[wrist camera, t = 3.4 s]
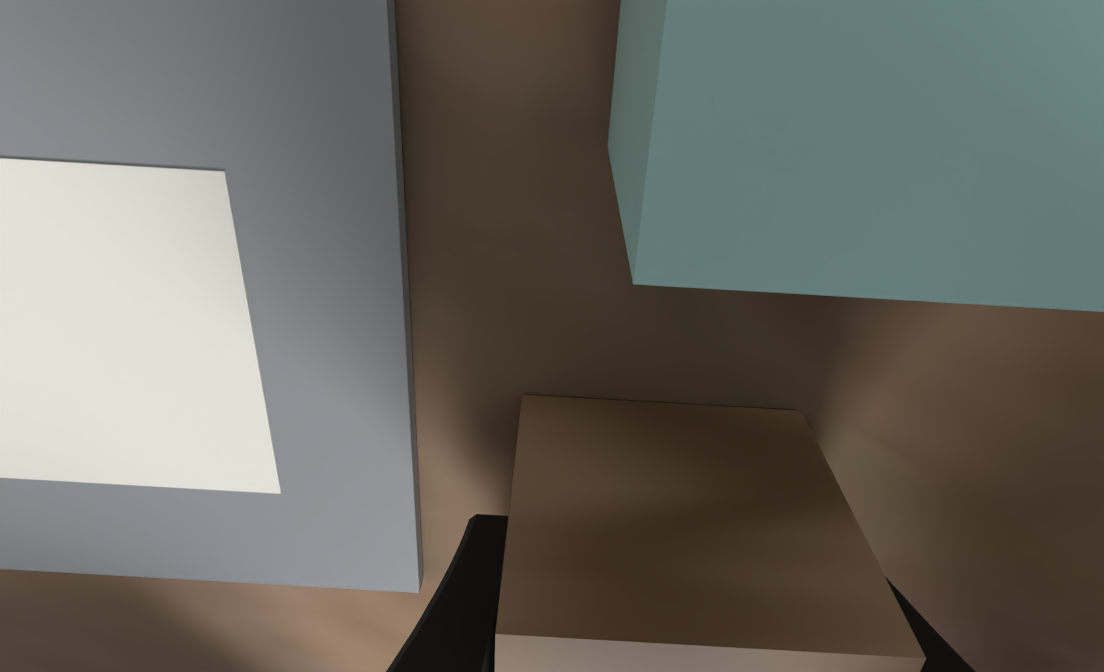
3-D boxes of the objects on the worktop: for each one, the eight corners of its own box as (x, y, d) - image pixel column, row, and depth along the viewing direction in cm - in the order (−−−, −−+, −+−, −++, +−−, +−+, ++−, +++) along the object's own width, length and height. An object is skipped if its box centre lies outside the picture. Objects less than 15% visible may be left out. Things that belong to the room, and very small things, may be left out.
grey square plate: (393, -11, 8) (385, -10, 8) (423, 575, 13) (419, 594, 13) (-437, -62, 8) (-484, -62, 8) (-103, 545, 13) (-123, 562, 13)
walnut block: (800, 410, 11) (925, 657, 7) (747, 603, 13) (823, 875, 9) (522, 394, 11) (496, 633, 7) (514, 589, 13) (491, 856, 9)
